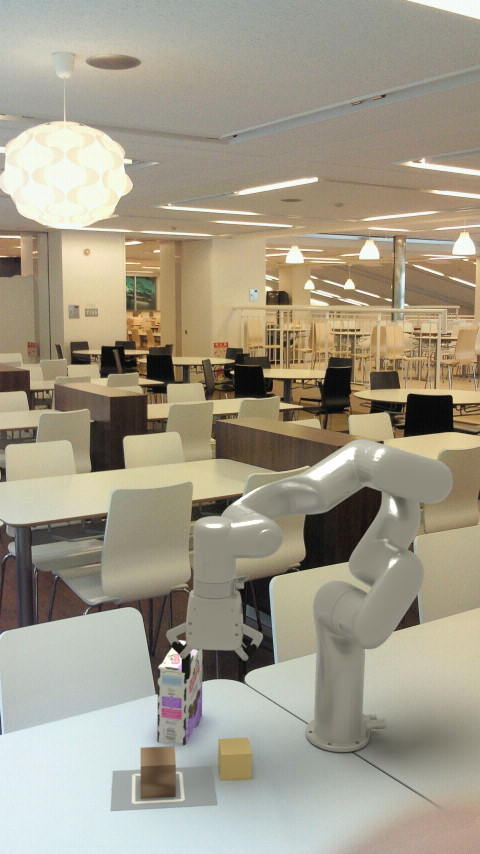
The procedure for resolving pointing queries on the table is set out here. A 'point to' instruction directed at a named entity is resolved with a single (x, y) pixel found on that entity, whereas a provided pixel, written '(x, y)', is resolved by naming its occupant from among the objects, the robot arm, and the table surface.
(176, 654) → the candy box
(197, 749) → the table surface
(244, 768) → the ochre block
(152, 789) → the walnut block
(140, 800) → the board
